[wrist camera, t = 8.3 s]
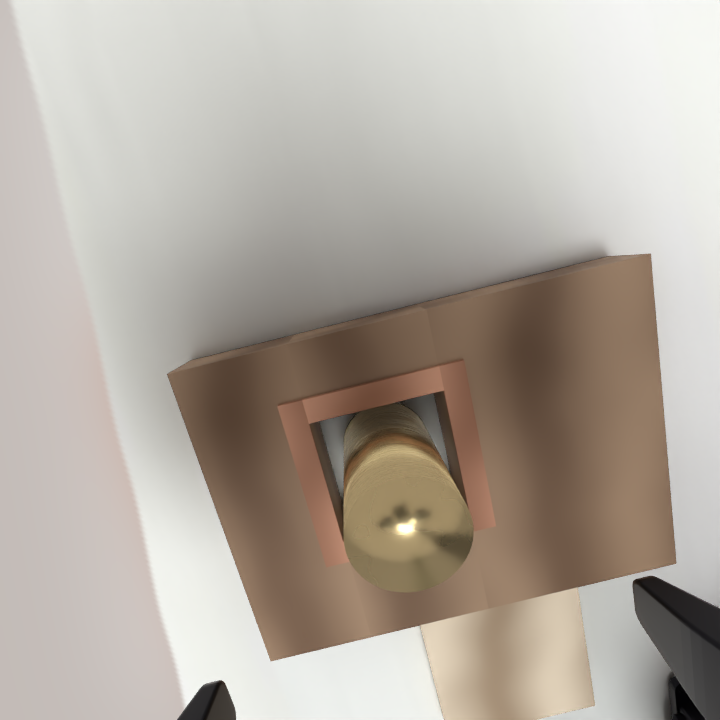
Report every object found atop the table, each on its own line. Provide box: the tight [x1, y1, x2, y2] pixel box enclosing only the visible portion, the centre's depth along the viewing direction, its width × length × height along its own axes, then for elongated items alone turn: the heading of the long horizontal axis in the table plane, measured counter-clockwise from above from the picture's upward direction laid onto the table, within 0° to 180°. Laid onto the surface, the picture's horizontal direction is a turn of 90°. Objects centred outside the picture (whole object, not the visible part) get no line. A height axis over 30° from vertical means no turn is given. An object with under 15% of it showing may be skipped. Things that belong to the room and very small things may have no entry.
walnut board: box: [167, 254, 676, 720], centre depth 19 cm, size 19×23×3 cm
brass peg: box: [344, 403, 474, 592], centre depth 16 cm, size 4×4×7 cm
